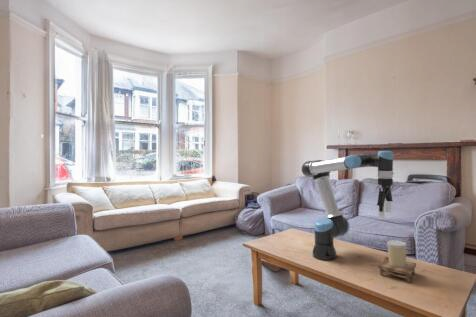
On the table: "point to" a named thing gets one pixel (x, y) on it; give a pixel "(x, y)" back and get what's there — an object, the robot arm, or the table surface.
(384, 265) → the footstool
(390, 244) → the coffee cup
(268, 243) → the table surface
